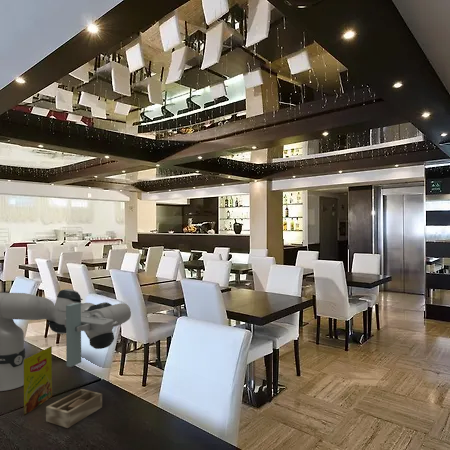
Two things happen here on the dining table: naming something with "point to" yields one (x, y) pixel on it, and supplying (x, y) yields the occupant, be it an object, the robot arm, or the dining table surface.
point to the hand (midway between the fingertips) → (72, 328)
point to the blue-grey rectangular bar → (73, 334)
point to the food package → (37, 379)
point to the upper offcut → (76, 404)
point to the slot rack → (65, 418)
